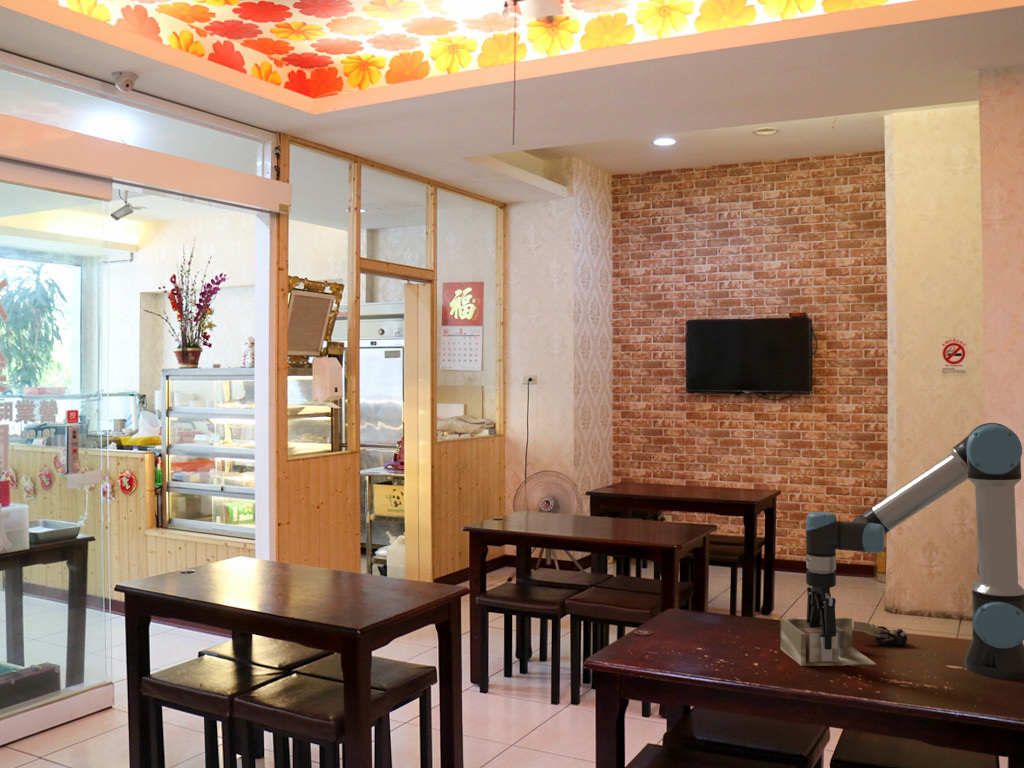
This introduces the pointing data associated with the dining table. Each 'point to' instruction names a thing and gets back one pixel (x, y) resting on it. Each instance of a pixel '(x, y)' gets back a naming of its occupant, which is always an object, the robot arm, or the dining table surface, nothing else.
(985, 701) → the dining table surface
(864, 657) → the shelf
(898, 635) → the toy figure
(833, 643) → the tall mauve wooden block
